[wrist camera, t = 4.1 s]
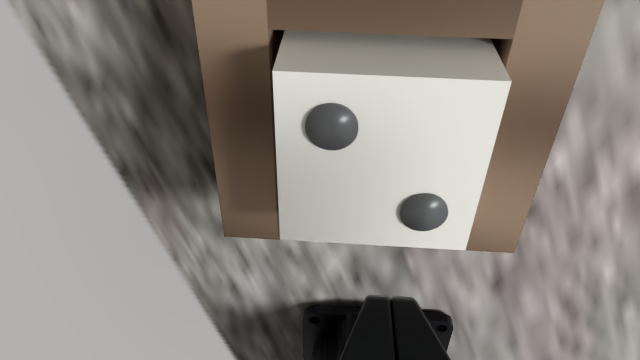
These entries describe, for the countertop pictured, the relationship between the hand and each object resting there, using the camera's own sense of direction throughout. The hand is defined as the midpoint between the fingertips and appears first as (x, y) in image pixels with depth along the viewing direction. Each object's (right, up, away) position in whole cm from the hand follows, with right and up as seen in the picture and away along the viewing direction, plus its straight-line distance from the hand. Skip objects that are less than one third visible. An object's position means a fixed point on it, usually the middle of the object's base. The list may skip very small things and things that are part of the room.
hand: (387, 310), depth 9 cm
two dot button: (0, +4, +5) cm, 7 cm away
